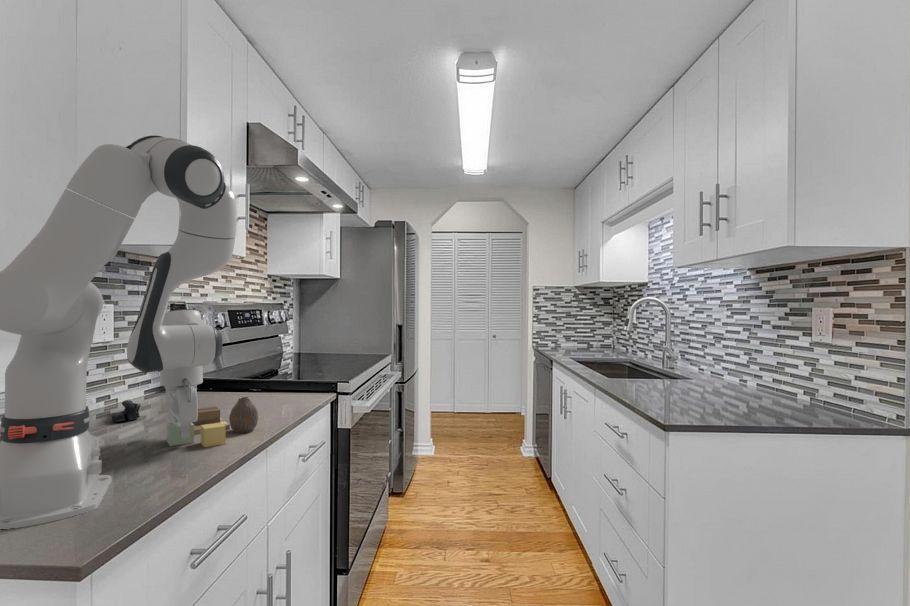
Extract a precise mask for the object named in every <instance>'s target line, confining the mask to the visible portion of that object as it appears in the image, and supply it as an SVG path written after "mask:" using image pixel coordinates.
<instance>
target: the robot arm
mask: <svg viewBox="0 0 910 606" xmlns="http://www.w3.org/2000/svg"><path fill="white" fill-rule="evenodd" d="M156 192H159V193H160V194H162V195H164V196H166V197H171V198H174V199H176V200H177V202H178V206H179V209H180V216H179V217H180V218H179V222H178V223H179V224H178V231H177V235H176V239H175V241H174V243H173V244H172V246H171V247H170V248H169V249H168V250H167V251H166V252H163V253H160V254H159V255H158V257H157V259H156V261H155V263H154V265H153V266H152V271H151V272H150V277H149V279H148V282H147V284H146V285H147V286H146V288H145V292H144V296H143V298H142V302H141V306H140V309H139V311H138V316H137V318H136V321H135V323H134V326H133V328H132V330H131V333H130V336H129V338H128V341H127V346H126V357H127V361H128V363H129V365H131V366H132V367H134V368H135V369H136V370H139V371H140V372H143V373H144V374H150V373H154V372H155V373H156V372H160V385H161V387H165V395H166V397H165V398H166V403H167V408H168V410H169V412H171V414H173V416H172V417H173V423H177V422H180V425H181V431H180V437H181V439H189V438H190V429H191V422H196V421H197V418H198V408H199V405H198V392H197V390H198V387H197V386H198V385H201V384H203V382H204V376H203V373H204V369H203V368H204V367H203V366H209V365H212V364H214V363H215V362H216V361H217V360H219V358H220V357H221V355H222V353H223V336H222V333H221V332H220V331H219V330H218V329H217V327H215V326H214V325H210V324H207V323H205V321H203V319H202V314H201V312H200V311H199V310H196V309H191V308H180V309H179V308H178V309H172V310H169V311H167V310H168V309H167V308H168V305H169V301H170V299H171V296H172V293H173V292H174V291H175V290H176V289H177V288H178V287H180V286H182V285H184V284H185V283H187V282H189V281H192V280H196V279H199V278H202V277H205V276H209V275H212V274H214V273H216V272H218V271H220V270H222V269H223V268H224V267H226V266H227V264H228V263H229V262H230V261H231V259H232V256H233V252H234V249H235V242H236V232H237V201H236V195H235V194H234V192H233V190H232V189H231V188H230V187H228V186H227V185H226V182H225V174H224V169H223V166H222V164H221V163H220V161H219V159H218V158H217V157H216V156H215V155H214V154H212V153H211V152H210V151H209V150H206V149H205V148H203V147H201V146H198V145H193V144H191V143H189V142H186V141H184V140H181V139H177V138H174V137H166V136H165V137H164V136H161V135H147V136H143V137H140V138H138V139H136V140H135V141H133V142H131V143H130V144H129V145H127V146H122V145H118V144H109V143H108V144H101V145H99V146H97V147H96V148H95V149H94V150H92V151H91V153H90V154H89V155H88V156H87V157H86V158H85V159H84V161H83V162H82V163H81V164H80V165H79V167H78V169H77V170H75V173H74V174H73V176H71V178H70V180H69V181H68V183H67V185H66V187H65V189H64V190H63V192H62V194H61V196H59V197H60V198H59V199H58V201H57V203H56V205H55V206H54V208H53V209H52V211H51V213H50V214H49V217H48V218H47V220H46V221H45V223H44V224H43V226H42V228H41V229H40V230H39V232H38V233H37V234H36V235H35V237H33V239H32V240H31V241H30V242H28V244H27V245H26V246H25V247H24V248H23V250H22V251H20V252H19V253H18V254H17V256H16V257H15V258H14V259H13V260H12V261H11V263H9V264H8V265H7V266H6V267H5V268H4V269H1V271H0V331H3V332H7V333H10V334H15V335H19V336H20V339H19V342H18V345H17V348H16V351H15V354H14V356H13V357H12V359H11V361H10V362H9V364H8V365H7V366H6V369H5V372H4V415H3V416H1V418H0V419H1V420H0V440H1V442H0V529H8V530H10V529H9V528H15V529H19V528H20V527H21V528H26V527H31V526H32V527H33V526H35V525H36V526H38V525H42V524H46V523H51V522H56V521H60V520H64V519H67V518H68V517H69V518H71V517H72V516H73V517H75V515H76V516H79V514H80V515H83V514H86V513H88V511H89V512H91V511H94V510H96V509H97V508H98V507H99V506H100V504H101V502H102V501H103V498H104V497H105V495H106V493H107V491H108V489H109V488H110V486H111V484H112V482H113V479H112V475H109V474H101V473H102V468H103V460H102V459H99V457H101V452H102V451H101V450H102V449H101V448H99V438H98V437H97V436H96V435H93V434H92V433H91V432H90V431H89V428H90V419H91V418H90V417H91V415H90V410H89V408H88V407H87V379H88V377H87V374H88V373H87V372H88V363H89V361H88V360H89V357H90V351H91V347H92V343H93V338H94V335H95V329H96V324H97V320H98V318H99V316H100V314H101V312H102V310H103V308H104V297H103V294H102V293H101V290H100V289H99V288H98V287H97V285H95V284H94V283H92V280H93V279H94V278H95V277H96V275H97V274H98V273H99V272H100V271H101V270H102V268H104V267H105V265H107V264H108V263H109V262H111V261H112V260H113V259H114V258H115V257H116V256H117V253H118V251H119V249H120V248H121V246H122V244H123V242H124V240H125V239H126V237H127V235H128V233H129V231H130V229H131V227H132V225H133V224H134V222H135V219H136V217H137V216H138V214H139V211H140V209H141V207H142V205H143V204H144V203H145V201H146V200H147V199H148V198H149V197H150V196H152V195H153V194H155V193H156ZM109 485H110V486H109ZM103 496H104V497H103ZM98 505H99V506H98ZM93 509H94V510H93ZM90 510H91V511H90ZM85 512H86V513H85ZM82 513H83V514H82Z"/></svg>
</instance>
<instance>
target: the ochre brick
mask: <svg viewBox="0 0 910 606" xmlns="http://www.w3.org/2000/svg"><path fill="white" fill-rule="evenodd" d="M200 444H201V445H202V447H204V448H208V447H214V446H221V445H222V446H223V445H226V426H225V425H224V424H222V423H213V424H205V425H201V433H200Z"/></svg>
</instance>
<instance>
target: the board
mask: <svg viewBox="0 0 910 606" xmlns="http://www.w3.org/2000/svg"><path fill="white" fill-rule="evenodd" d="M220 423H222V424H224V425H225V426H226V430H227V431H228V430H230V429H231V426H230V423H228V422H227V421H225V420H224V419H223V418H221V417H220ZM198 434H201V425H200V426H195V425H194V435H198Z"/></svg>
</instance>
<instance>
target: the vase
mask: <svg viewBox="0 0 910 606" xmlns="http://www.w3.org/2000/svg"><path fill="white" fill-rule="evenodd" d="M228 419H229V425H230V429H231V430H233V432H234V433H236V434H246V433H250V432H252V431H254V430H255V428H256V427H257V424H258V422H259V413H258V408H257V407H256V406H255V404H253V402H252V400H251V399H250V397H249V396H244V397H243V396H241V397H239V398H238V400H237V402H236V403H235V405H234V406H233V407H232V408H231V409H230V414H229V417H228Z"/></svg>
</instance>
